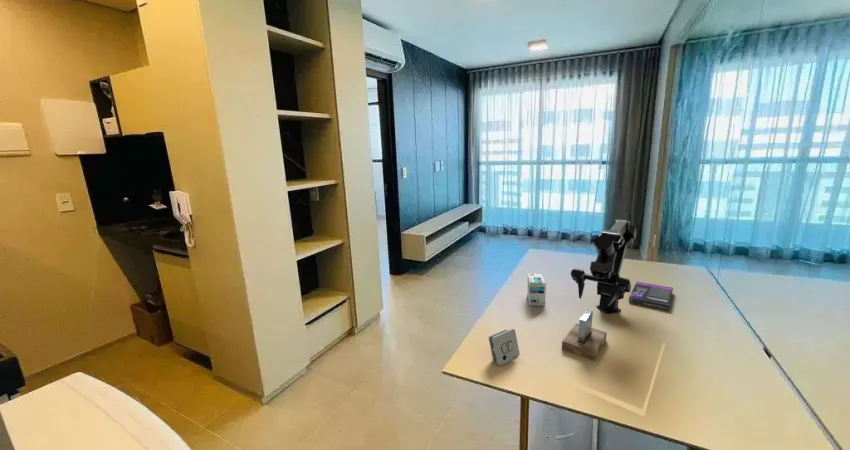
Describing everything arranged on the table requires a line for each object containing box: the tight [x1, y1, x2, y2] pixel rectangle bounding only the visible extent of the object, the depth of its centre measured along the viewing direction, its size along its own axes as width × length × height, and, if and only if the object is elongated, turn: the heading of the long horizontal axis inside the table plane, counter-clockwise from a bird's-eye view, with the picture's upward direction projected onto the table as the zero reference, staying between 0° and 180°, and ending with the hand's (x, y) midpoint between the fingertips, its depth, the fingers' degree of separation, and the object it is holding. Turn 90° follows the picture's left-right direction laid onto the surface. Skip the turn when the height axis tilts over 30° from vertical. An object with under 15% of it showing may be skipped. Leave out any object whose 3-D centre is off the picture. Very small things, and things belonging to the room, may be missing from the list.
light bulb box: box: [526, 272, 547, 307], centre depth 146 cm, size 11×7×11 cm, turn 168°
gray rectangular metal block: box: [578, 309, 594, 344], centre depth 112 cm, size 8×2×11 cm, turn 139°
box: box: [628, 281, 674, 312], centre depth 145 cm, size 14×4×20 cm
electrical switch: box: [488, 328, 520, 366], centre depth 109 cm, size 9×5×9 cm, turn 121°
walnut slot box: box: [561, 323, 608, 361], centre depth 113 cm, size 14×10×4 cm
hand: (593, 301), depth 116 cm, fingers open, 9 cm apart
